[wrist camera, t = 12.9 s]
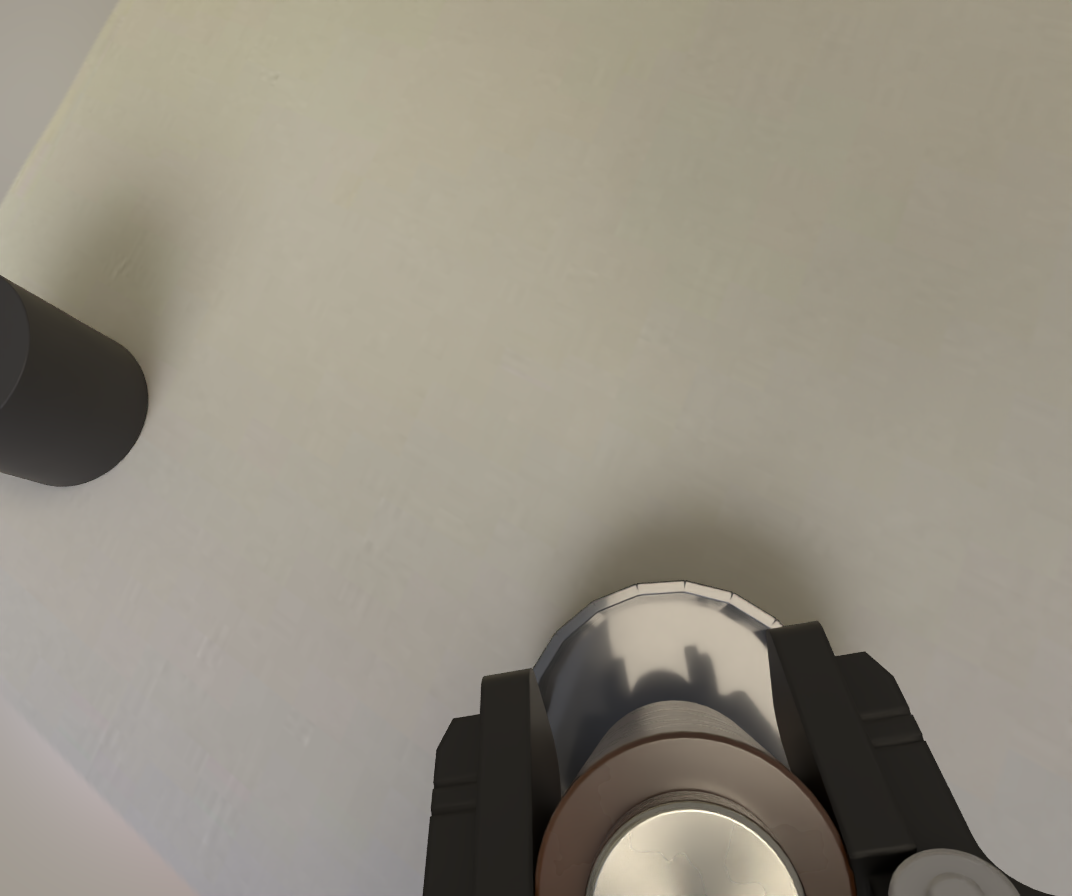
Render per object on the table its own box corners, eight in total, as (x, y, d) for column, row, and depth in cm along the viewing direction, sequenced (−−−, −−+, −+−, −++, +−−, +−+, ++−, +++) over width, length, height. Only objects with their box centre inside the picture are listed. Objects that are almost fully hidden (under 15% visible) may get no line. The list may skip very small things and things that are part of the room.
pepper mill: (669, 939, 16) (680, 1210, 8) (548, 780, 17) (454, 886, 9) (813, 813, 16) (960, 961, 8) (686, 662, 17) (710, 666, 9)
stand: (50, 519, 35) (-95, 487, 28) (-26, 402, 37) (-180, 346, 30) (177, 416, 35) (63, 360, 29) (96, 304, 37) (-29, 227, 30)
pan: (658, 954, 29) (659, 988, 26) (474, 710, 31) (456, 716, 28) (885, 756, 29) (910, 768, 26) (685, 531, 32) (688, 519, 29)
